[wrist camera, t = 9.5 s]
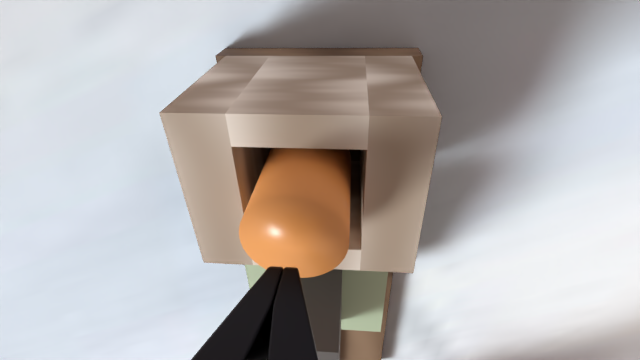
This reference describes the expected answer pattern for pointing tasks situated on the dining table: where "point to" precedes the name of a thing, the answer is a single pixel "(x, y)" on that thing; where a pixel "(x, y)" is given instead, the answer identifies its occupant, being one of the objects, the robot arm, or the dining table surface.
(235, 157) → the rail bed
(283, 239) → the button
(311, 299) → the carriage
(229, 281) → the dining table surface
